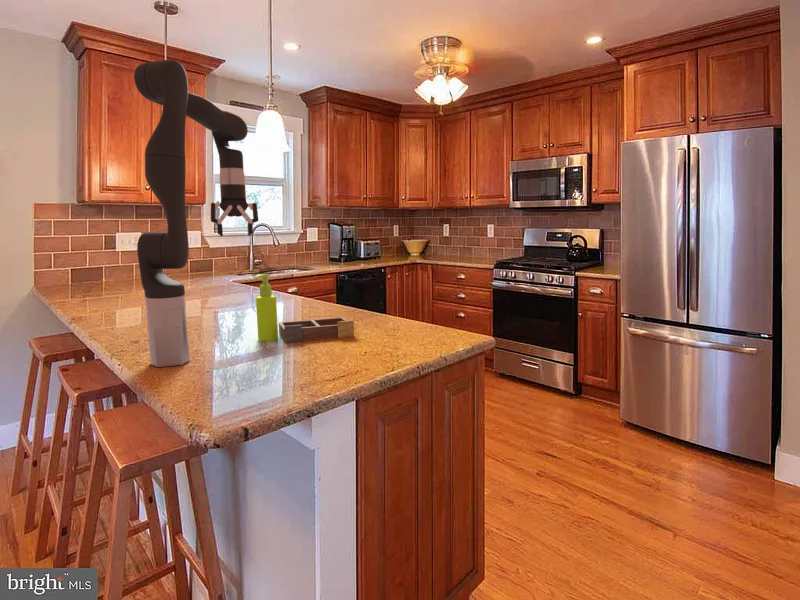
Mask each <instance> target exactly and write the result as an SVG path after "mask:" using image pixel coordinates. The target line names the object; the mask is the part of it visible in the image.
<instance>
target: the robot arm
mask: <svg viewBox="0 0 800 600" xmlns="http://www.w3.org/2000/svg"><path fill="white" fill-rule="evenodd" d="M133 73H134V74H133V79H134V84H135V87H136V88H137V91H138V92H139V93H140V95H141V96H143V98H145V99H146V100H148V101H150V102H152V103H155V104H157V105H160V106H162V112H161V114H160V115H161V116H160V119H159V121H158V123H157V124H156V125H157V126H156V127H155V128H154V130H153V132H152V134H151V136H150V138H149V140H148V142H147V144H146V146H145V150H144V151H145V152H144V176H145V180H146V182H147V184H148V186H149V188H150V190H151V191H152V193H153V194H154V196H155V197H156V198H157V200H158V201H159V203H160V204H161V207H162V209H163V210H164V213H165V217H166V222H167V231H147V232H143V233H142V234H141V235H140V236H139V237H138V241H137V244H136V245H137V246H136V247H137V248H136V251H137V260H138V266H139V272H140V280H141V285H142V288H143V290H144V291H143V292H144V298H145V312H146V322H147V333H148V334H147V335H148V347H149V356H150V357H149V358H150V364H151V365H152V366H154V367H155V368H161V367H162V368H163V367H172V366H182V365H184V364H186V363H188V362H190V360H191V359H190V358H191V357H190V344H189V331H188V318H187V305H186V304H187V303H186V291H185V290H186V289H185V285H184V283H182V282H181V281H180V282H179V281H177V280H174V279H172V278H171V277H169V276H167V275H166V274H165V272H164V270H178V269H180V270H181V269H183V268H184V267H185V266H186V265H187V263H188V260H189V253H190V252H189V251H190V249H189V248H190V246H189V244H190V243H189V235H188V234H189V233H188V224H187V214H186V211H187V210H186V175H187V174H186V166H187V165H186V121H187V120H186V119H187V118H190V119H191V120H194V121H195V122H196V123H198V124H199V125H201V126H203V127H204V128H206V129H207V130H209V131H211V135H212V138H213V141H214V143H215V147H216V149H217V154H218V157H219V188H220V189H219V190H220V203H217V202H216V203H215V202H211V203H210V221H211V223H214V224H216V228H217V234H218V235H219V237H224V235H223V233H224V231H223V224H222V223H223V221H224V220H225V219H226V218H227V217H230V218H233V217H239V218H240V217H243V218H244V219H245V221H246V222H247V236H248V237H252V235H253V233H254V227H253V225H254V224H255V223H256V222H259V212H258V204H257V202H251V203H248V202H247V195H246V194H247V193H246V177H245V171H244V169H245V168H244V155H243V152H242V151H241V150H240V149H237V148H231V145H230V143H229V142H239V141H243V140H245V138H247V135H248V132H249V130H248V126H247V123H246V121H245V120H244V119H243V118H242V117H240V116H239V115H237V114H234V113H233V112H230V111H227V110H225V109H222V108H220V107H219V106H218V105H216V104H215V103H214V102H213V101H211V100H210V99H207V98H205V97H203V96H201V95H198V94H195V93H191V92H189V80H188V74H187V71H186V69H185V67H184V66H183V65H182V64H181V62H179V61H178V60H177V59H176V60H175V59H163V60H157V61H156V60H155V61H148V62H147V61H146V62H144V63H141V64H138V65H137V67H135V70H134V72H133ZM219 207H220V209H221V211H222V214H221V215H220V217H219V218H218V219H217V218H216V211H217V210H218V209H219ZM248 208H249V210H250V211H252V217H253V218H251V217H250V216H249V215H248V213H247V212H246V210H247V209H248ZM151 365H150V366H151Z"/></svg>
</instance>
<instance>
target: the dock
mask: <svg viewBox="0 0 800 600" xmlns="http://www.w3.org/2000/svg"><path fill="white" fill-rule="evenodd" d="M278 335H279V336H280V338H281V339H282V341H284V343H285V344H289V343H299V342H303V341H311V340H313V341H315V340H323V339H333V338H335V339H336V338H337V339H345V338H354V337H355V320H348V319H347V318H346V317H343V316H341V317H330V318H317V319H304V320H303V319H302V320H291V321H279V322H278Z"/></svg>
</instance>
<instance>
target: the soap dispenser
mask: <svg viewBox="0 0 800 600" xmlns="http://www.w3.org/2000/svg"><path fill="white" fill-rule="evenodd" d="M269 277H271V274H270V273H259V274H258V273H257V274H256V275H254V276H253V279H262V280H261V282H262V283H261V284H260V285H259V295H258V296H255V304H256V305H255V307H256V324H257V326H256V327H257V339H258V341H259V342H266V343H267V342H274V341H278V339H279V324H278V310H277V309H278V308H277V306H278V305H277V296H276V295H273V294H272V293H273V292H272V284H270V283H269Z"/></svg>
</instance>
